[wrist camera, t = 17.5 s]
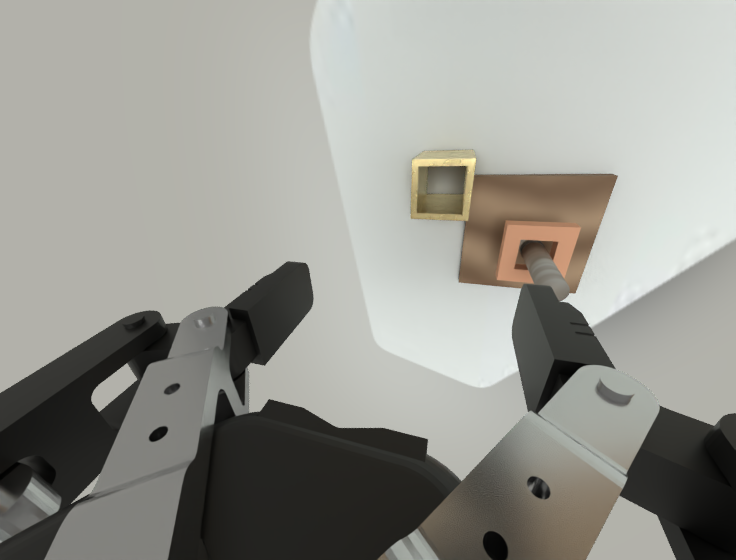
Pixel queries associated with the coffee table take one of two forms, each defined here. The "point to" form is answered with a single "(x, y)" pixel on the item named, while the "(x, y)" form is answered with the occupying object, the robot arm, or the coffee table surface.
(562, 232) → the orange square ring
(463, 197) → the sleeve
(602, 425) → the robot arm
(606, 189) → the post stand
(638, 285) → the coffee table surface
